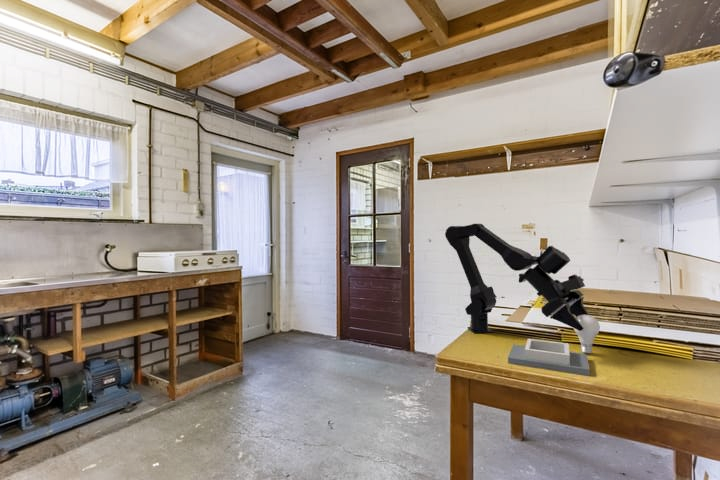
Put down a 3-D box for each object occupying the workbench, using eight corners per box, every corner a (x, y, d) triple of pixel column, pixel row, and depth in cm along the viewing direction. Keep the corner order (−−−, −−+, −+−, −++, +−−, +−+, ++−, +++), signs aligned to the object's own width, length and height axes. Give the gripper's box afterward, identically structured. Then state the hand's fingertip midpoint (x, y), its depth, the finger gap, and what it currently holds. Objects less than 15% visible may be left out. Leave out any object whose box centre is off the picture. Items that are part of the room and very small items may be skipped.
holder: (508, 363, 89) (507, 348, 89) (513, 349, 100) (513, 336, 100) (589, 376, 80) (589, 359, 80) (586, 359, 90) (585, 344, 90)
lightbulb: (576, 356, 93) (575, 316, 93) (570, 348, 99) (570, 311, 99) (603, 358, 91) (602, 318, 90) (596, 350, 96) (595, 312, 96)
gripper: (552, 269, 92) (601, 315, 84) (574, 263, 104) (619, 303, 96) (523, 294, 98) (567, 340, 90) (548, 286, 110) (588, 326, 102)
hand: (587, 326), depth 94 cm, fingers open, 9 cm apart
